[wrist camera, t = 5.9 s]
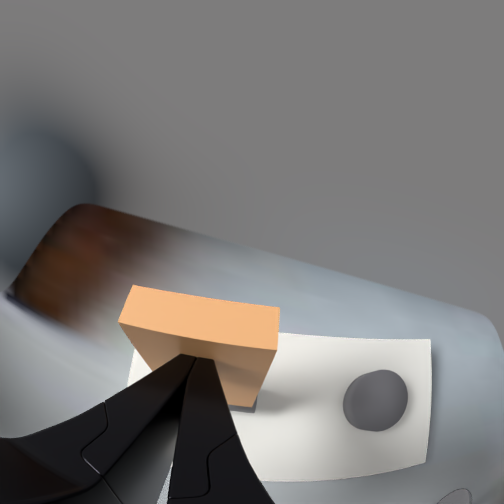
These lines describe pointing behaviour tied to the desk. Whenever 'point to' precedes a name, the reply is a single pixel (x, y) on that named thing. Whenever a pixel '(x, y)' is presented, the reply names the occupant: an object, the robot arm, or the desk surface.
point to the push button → (375, 400)
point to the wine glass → (457, 497)
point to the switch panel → (330, 409)
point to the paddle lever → (205, 337)
